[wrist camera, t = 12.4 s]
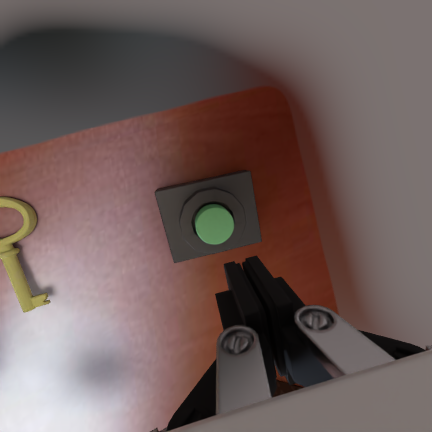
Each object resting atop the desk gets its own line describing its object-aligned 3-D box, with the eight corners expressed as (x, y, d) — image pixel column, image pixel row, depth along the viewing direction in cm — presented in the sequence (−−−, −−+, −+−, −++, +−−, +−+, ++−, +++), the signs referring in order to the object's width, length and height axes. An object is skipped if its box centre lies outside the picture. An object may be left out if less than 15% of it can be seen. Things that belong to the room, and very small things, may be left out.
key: (38, 306, 27) (26, 319, 25) (-50, 219, 23) (-73, 224, 21) (91, 273, 27) (83, 282, 25) (10, 180, 23) (-6, 182, 21)
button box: (245, 169, 26) (255, 171, 22) (256, 235, 28) (267, 247, 25) (156, 189, 26) (152, 194, 22) (174, 255, 28) (173, 271, 24)
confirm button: (227, 200, 23) (230, 203, 22) (233, 234, 24) (237, 239, 22) (191, 208, 23) (191, 212, 21) (199, 242, 24) (200, 248, 22)
